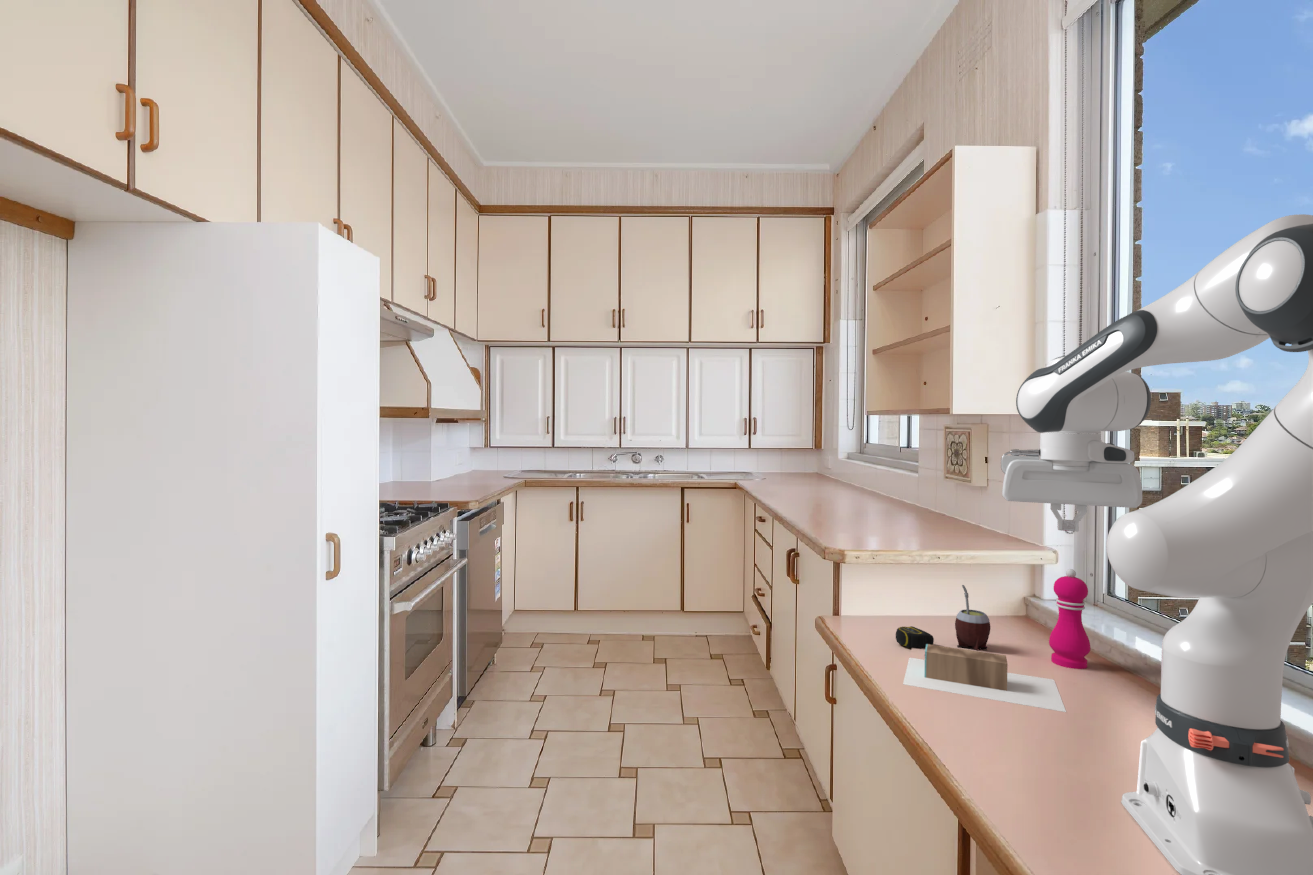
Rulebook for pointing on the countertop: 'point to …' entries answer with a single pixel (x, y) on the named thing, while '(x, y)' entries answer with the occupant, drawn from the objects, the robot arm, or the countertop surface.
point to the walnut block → (966, 667)
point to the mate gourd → (972, 628)
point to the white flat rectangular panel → (1018, 689)
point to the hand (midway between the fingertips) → (1067, 530)
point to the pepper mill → (1070, 623)
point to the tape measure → (913, 637)
